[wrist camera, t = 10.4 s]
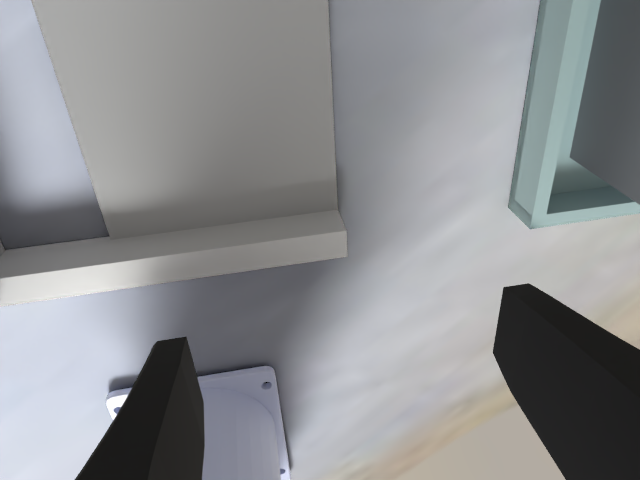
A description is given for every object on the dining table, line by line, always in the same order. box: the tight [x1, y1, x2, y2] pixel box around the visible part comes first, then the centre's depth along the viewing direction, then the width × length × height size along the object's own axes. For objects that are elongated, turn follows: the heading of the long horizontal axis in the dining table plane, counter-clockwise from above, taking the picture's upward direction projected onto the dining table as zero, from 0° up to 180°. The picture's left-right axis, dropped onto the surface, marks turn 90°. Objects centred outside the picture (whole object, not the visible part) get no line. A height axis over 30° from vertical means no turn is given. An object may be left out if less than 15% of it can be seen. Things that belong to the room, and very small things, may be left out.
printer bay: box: [0, 0, 348, 307], centre depth 16 cm, size 12×15×4 cm
